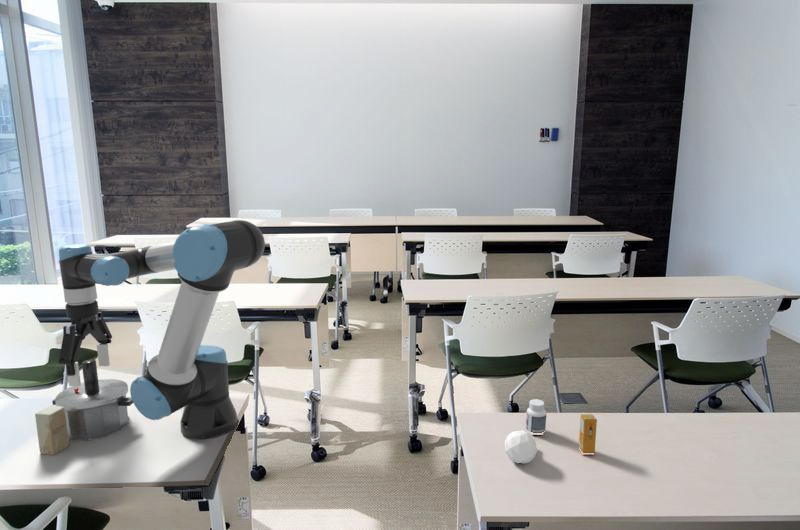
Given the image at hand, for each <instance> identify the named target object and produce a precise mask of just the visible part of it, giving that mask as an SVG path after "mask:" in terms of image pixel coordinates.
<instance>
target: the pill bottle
mask: <svg viewBox="0 0 800 530" xmlns="http://www.w3.org/2000/svg"><path fill="white" fill-rule="evenodd" d="M528 405H529V407H527V409H526V420H525V422H526V423H525V430H526V429H527V430H528V431H530V432H533V433H542V432H544V431H545V432H546V425H547V411H546V409H545V402H544V401H543V400H542V399H537V398H535V399H534V398H533V399H531V400H529V404H528Z"/></svg>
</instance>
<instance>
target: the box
mask: <svg viewBox="0 0 800 530" xmlns="http://www.w3.org/2000/svg"><path fill="white" fill-rule="evenodd" d="M34 415H35V425H36V431H37V439H38V447H39V453H40V454H42V455H50V456H51V455H52V456H54V455H56V454H57V453H59V452H61V451H62V450H64V449H66V448H67V447H68V446H69V445H70V443H69V439H68V435H67V426H66V418H65V409H64V407H60V406H56V405H49V406H47V407H46V408H43V409H42V410H40V411H38V412H36V413H34Z"/></svg>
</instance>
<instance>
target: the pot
mask: <svg viewBox="0 0 800 530" xmlns="http://www.w3.org/2000/svg"><path fill="white" fill-rule="evenodd" d="M126 396H127V394H126V395H125V396H124V397H123V398H121V399H120V400H118V401H116V402H114V403H111V404H109V405H106V406H103V407H99V408H95V409H90V410H82V411H67V410H65V418H66V426H67V435H68V440H70V441H91V440H95V439H102V438H105V437H107V436H109V435H112V434H113V433H114V434H115V433H116V432H119V431H121V430H122V429H123V428H124V427H125V426H126V425H127V424H128V423H129V413H128V407H130V406H132V405H134V402H133V401H132V398H131V397H126ZM51 402H52V406H56V402H55V399H53V400H52V401H51Z"/></svg>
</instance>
